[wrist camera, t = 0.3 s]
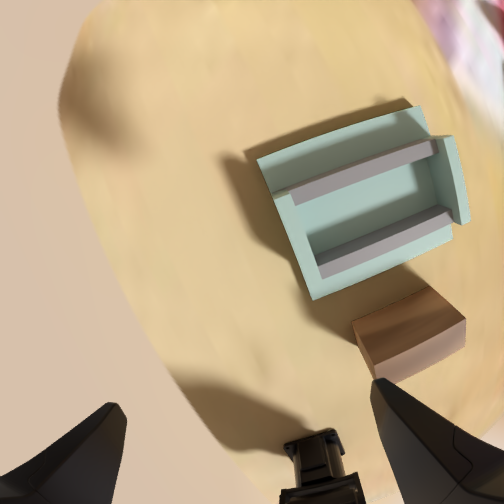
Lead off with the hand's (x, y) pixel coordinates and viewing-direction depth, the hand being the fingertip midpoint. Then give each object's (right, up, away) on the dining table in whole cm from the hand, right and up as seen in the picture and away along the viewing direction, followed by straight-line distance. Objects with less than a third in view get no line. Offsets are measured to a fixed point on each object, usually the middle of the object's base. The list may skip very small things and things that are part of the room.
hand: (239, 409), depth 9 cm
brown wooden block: (+13, -1, +15) cm, 20 cm away
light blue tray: (+9, +9, +12) cm, 17 cm away
